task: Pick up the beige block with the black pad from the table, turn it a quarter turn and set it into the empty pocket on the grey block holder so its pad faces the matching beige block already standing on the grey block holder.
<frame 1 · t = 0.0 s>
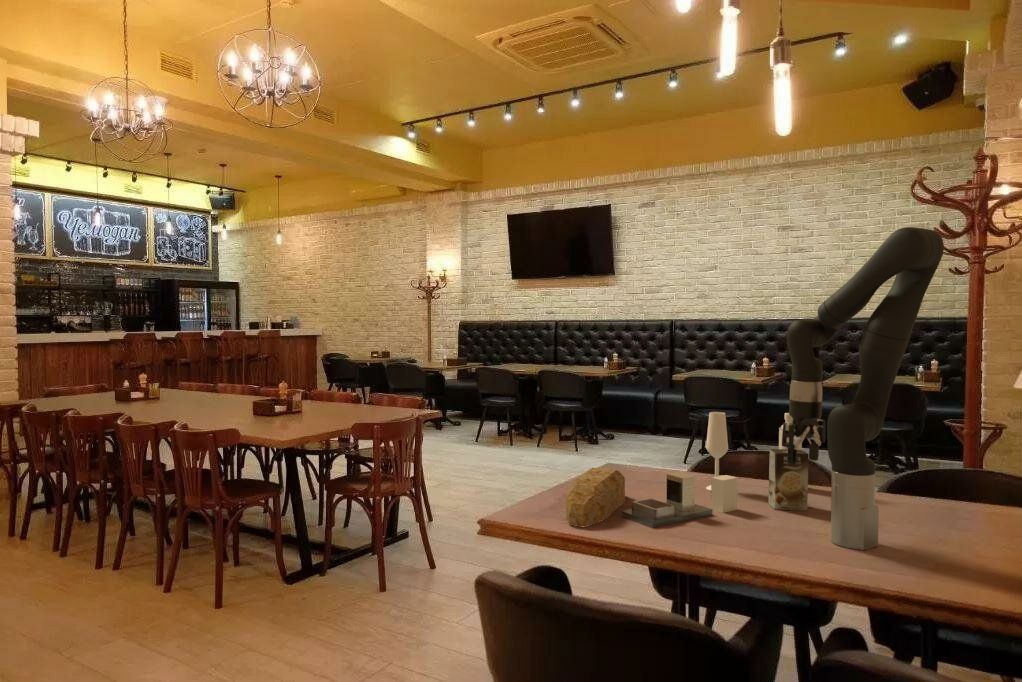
hand: (803, 461, 172), 17 cm above the table, tool pointing down, fingers open, 8 cm apart
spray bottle: (789, 487, 215), on the table
bread: (596, 510, 192), on the table
grey block holder: (667, 515, 184), on the table
champagne flute: (716, 489, 213), on the table
beige block: (724, 509, 190), on the table
coffee box: (787, 507, 192), on the table
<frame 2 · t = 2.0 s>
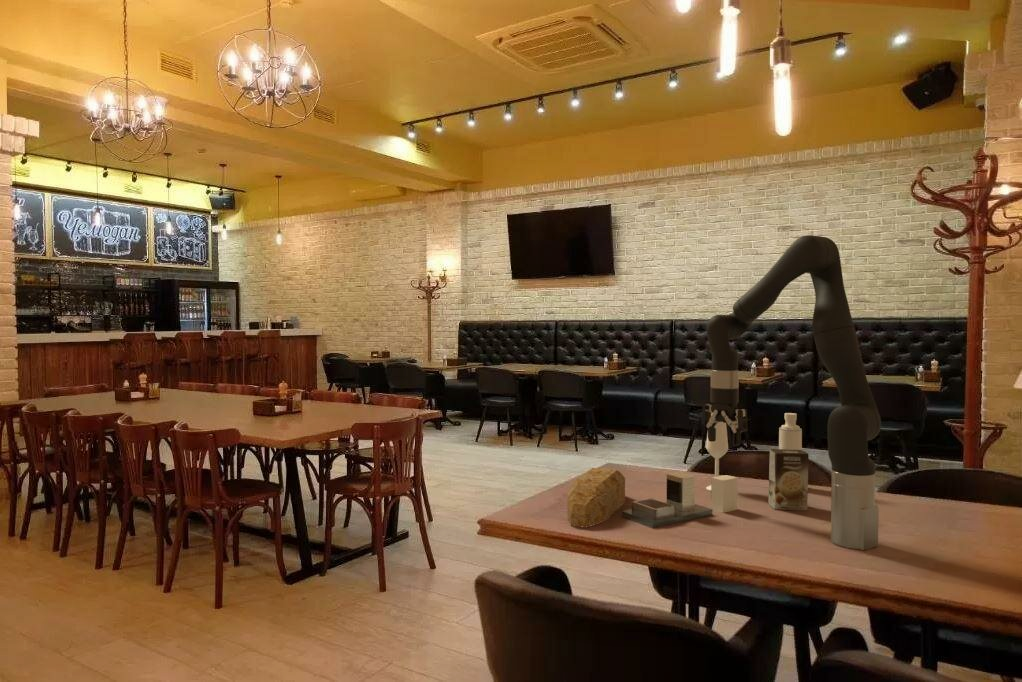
hand: (723, 443, 190), 19 cm above the table, tool pointing down, fingers open, 8 cm apart
nothing on the table moved.
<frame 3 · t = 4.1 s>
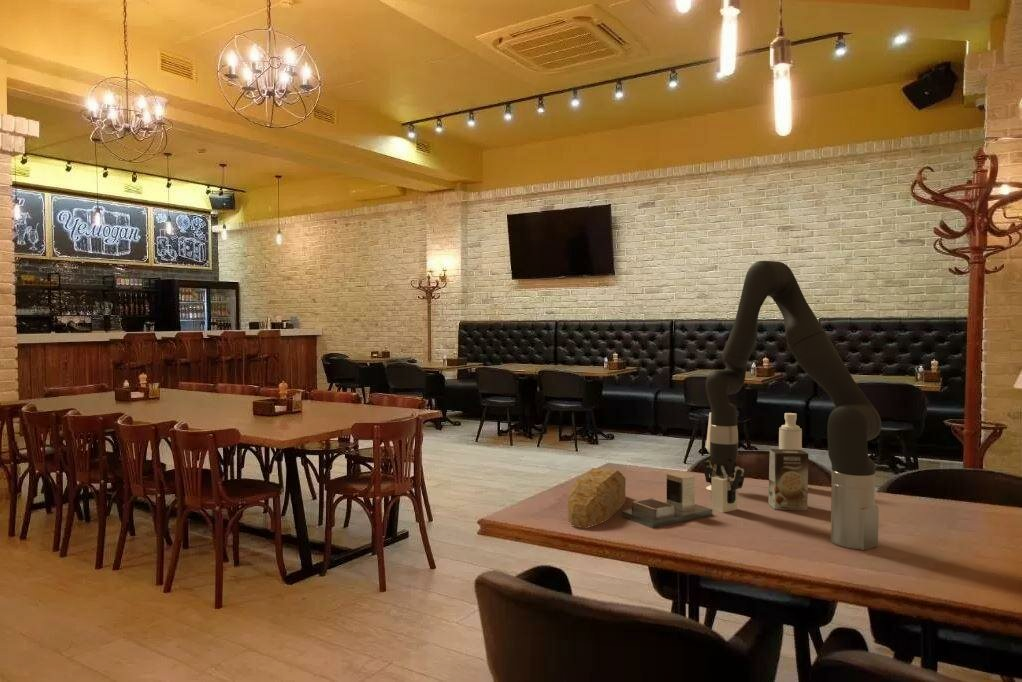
hand: (723, 500, 190), 2 cm above the table, tool pointing down, fingers closed on beige block, 4 cm apart
beige block: (724, 509, 190), on the table, touching gripper
everything else where it was.
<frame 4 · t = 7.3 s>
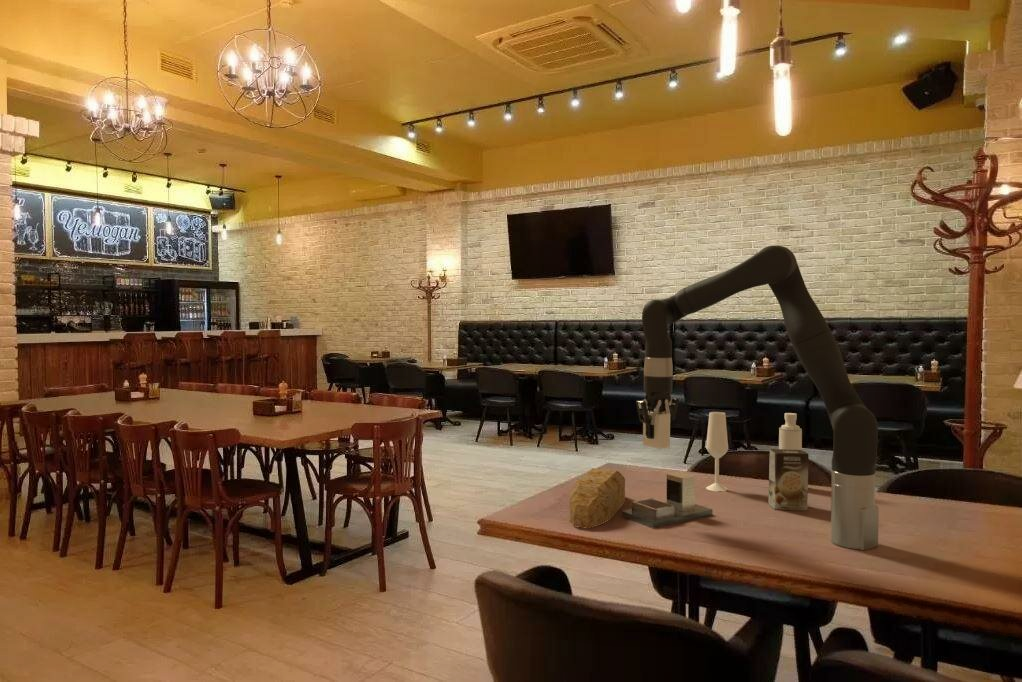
hand: (657, 437, 182), 22 cm above the table, tool pointing down, fingers closed on beige block, 4 cm apart
beige block: (656, 446, 182), point 19 cm above the table, touching gripper
everything else where it was.
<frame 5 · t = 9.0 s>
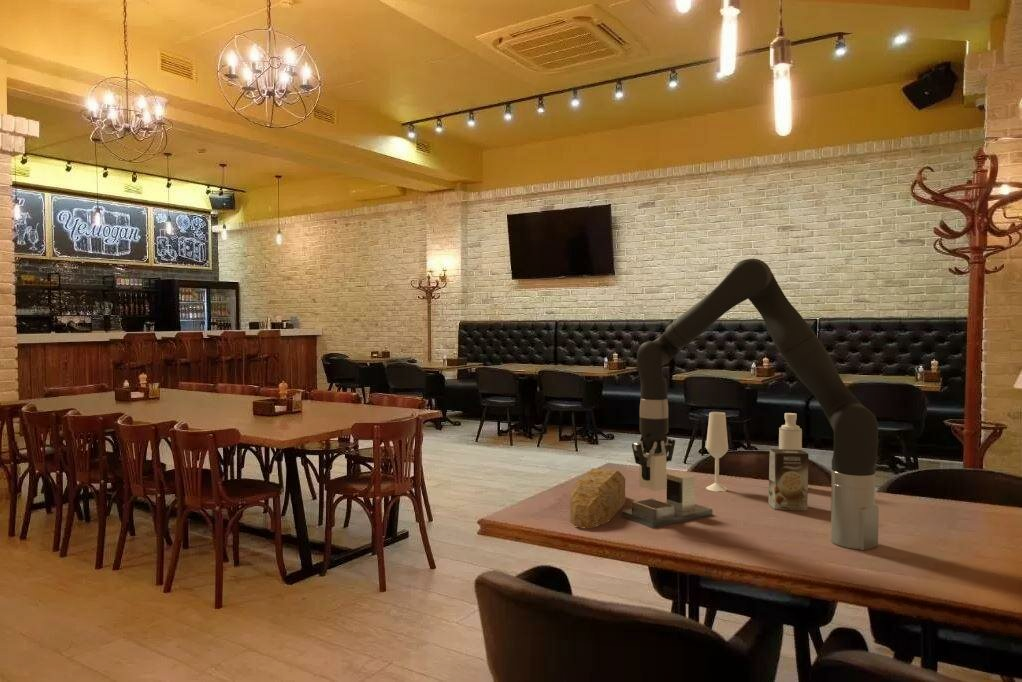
hand: (653, 478, 181), 11 cm above the table, tool pointing down, fingers closed on beige block, 4 cm apart
beige block: (652, 487, 181), point 8 cm above the table, touching gripper
when the fingers open (5 cm above the table, at t = 10.5 s): beige block drops 1 cm, resting on grey block holder.
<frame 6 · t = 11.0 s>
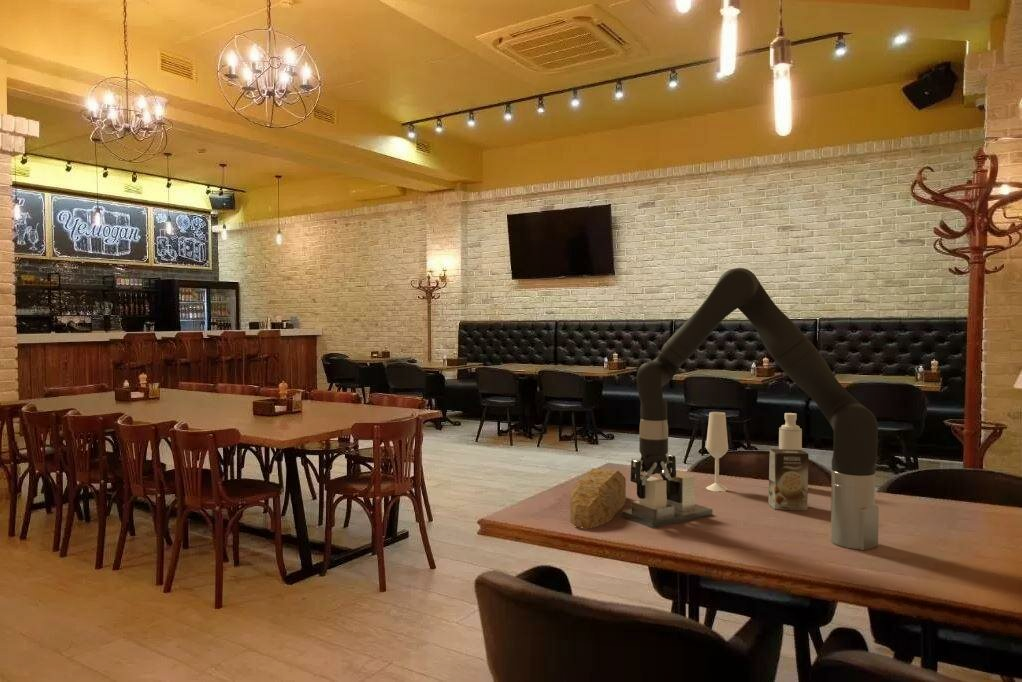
hand: (653, 496, 181), 6 cm above the table, tool pointing down, fingers open, 8 cm apart
beige block: (652, 512, 181), point 2 cm above the table, touching grey block holder
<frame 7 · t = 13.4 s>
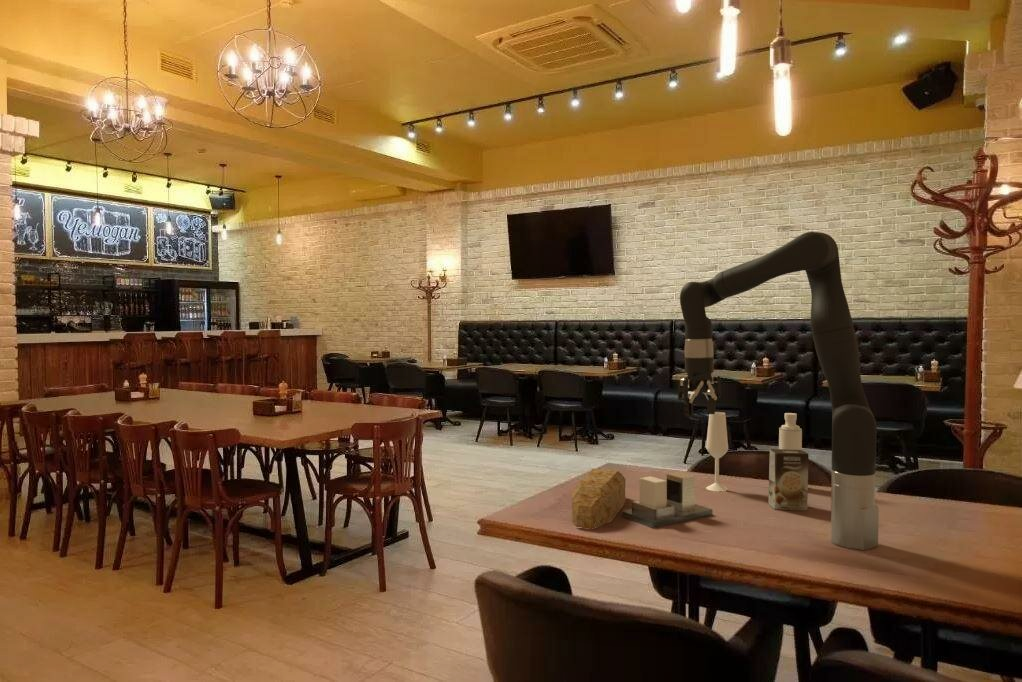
hand: (700, 415, 184), 27 cm above the table, tool pointing down, fingers open, 8 cm apart
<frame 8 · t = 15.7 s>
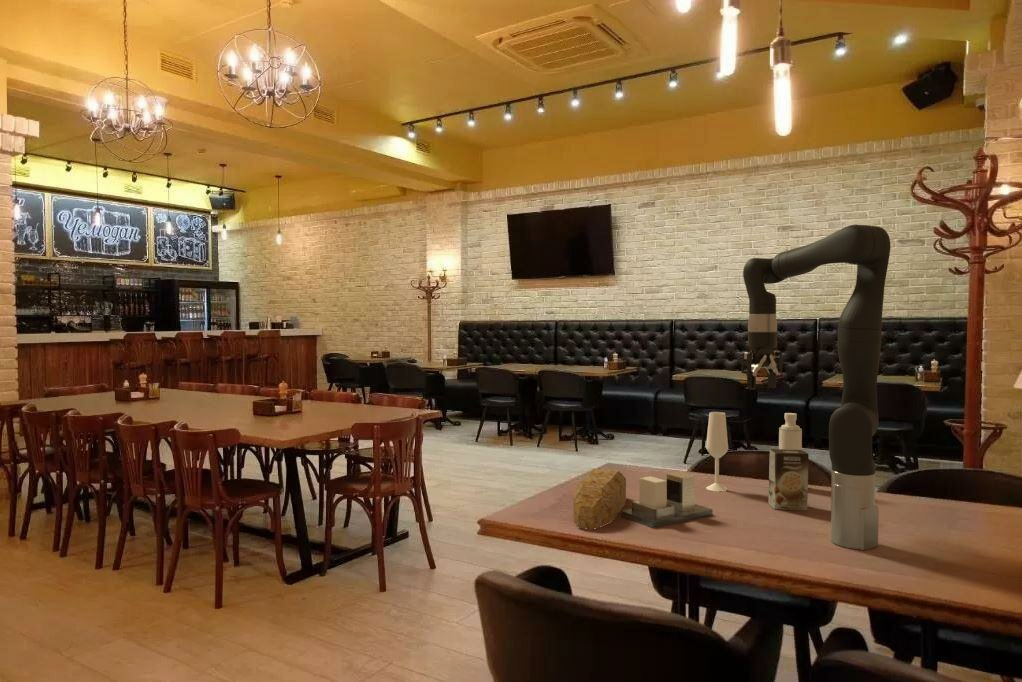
hand: (761, 388, 188), 34 cm above the table, tool pointing down, fingers open, 8 cm apart
at the end: beige block 0.1 cm from the target spot, point 1.6 cm above the table; beige block tilted 0°; the gripper is holding nothing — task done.
